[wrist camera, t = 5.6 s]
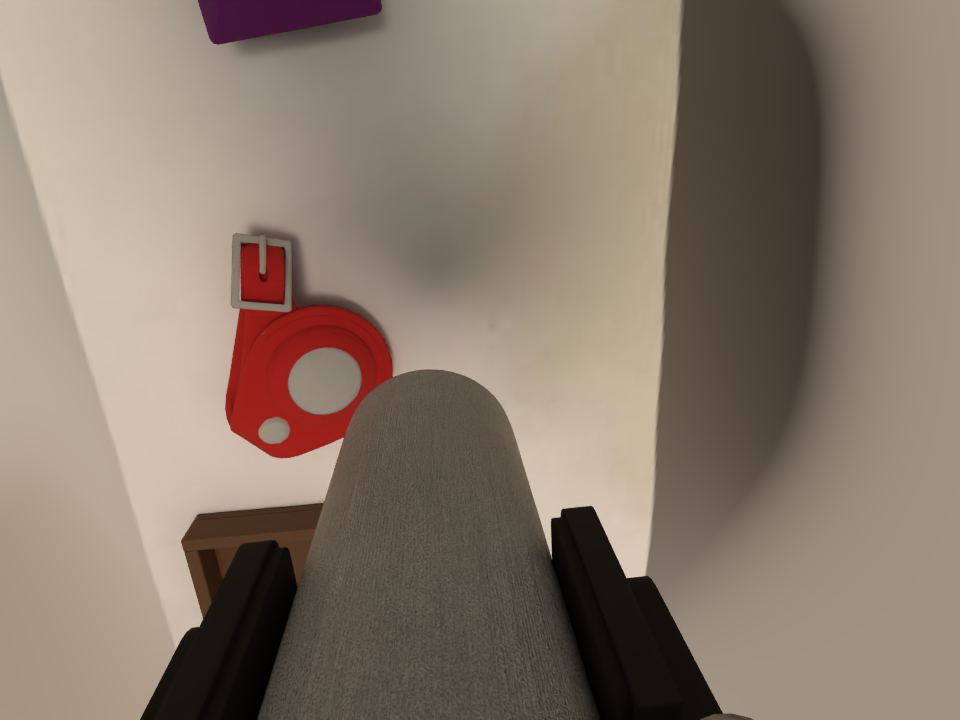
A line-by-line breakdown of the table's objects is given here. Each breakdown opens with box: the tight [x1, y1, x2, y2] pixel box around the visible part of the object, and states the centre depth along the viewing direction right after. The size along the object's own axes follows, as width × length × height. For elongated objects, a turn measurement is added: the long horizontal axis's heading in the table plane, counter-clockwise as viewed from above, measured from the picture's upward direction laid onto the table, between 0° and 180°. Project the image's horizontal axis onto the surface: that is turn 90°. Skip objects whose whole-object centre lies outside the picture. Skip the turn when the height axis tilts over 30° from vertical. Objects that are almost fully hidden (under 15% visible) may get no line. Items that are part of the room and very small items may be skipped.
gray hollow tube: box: [257, 370, 600, 720], centre depth 11 cm, size 4×4×10 cm
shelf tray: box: [181, 504, 323, 619], centre depth 37 cm, size 14×9×3 cm, turn 3°
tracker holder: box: [225, 233, 392, 458], centre depth 31 cm, size 12×4×10 cm
